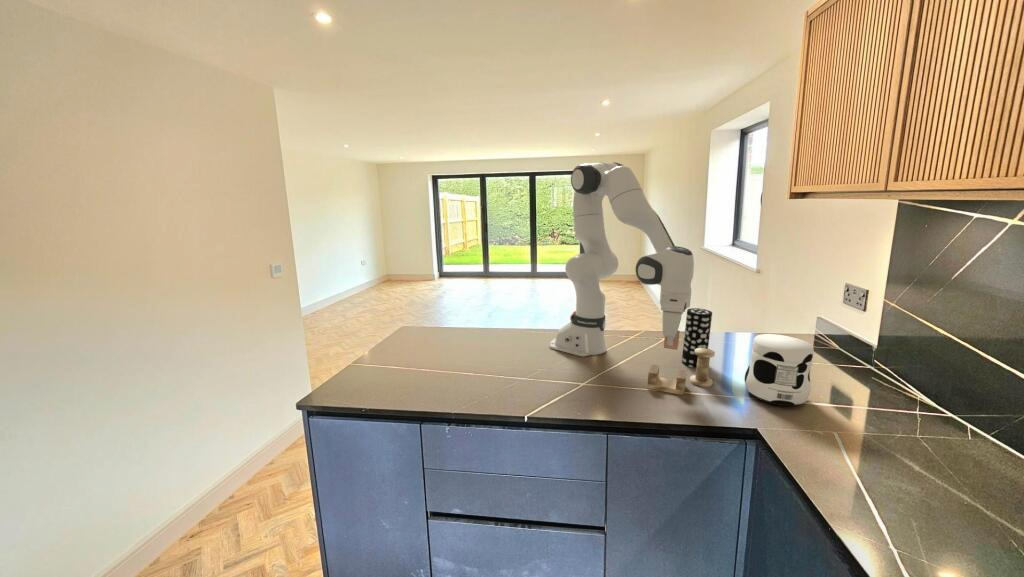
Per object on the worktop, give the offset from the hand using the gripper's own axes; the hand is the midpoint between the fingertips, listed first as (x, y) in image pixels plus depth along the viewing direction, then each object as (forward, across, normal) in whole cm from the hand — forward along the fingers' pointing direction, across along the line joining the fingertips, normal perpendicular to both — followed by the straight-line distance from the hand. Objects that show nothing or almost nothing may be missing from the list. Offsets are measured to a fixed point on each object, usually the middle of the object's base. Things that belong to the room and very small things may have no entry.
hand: (671, 342), depth 135 cm
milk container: (+16, -8, +31) cm, 36 cm away
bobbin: (+15, -9, +10) cm, 20 cm away
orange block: (+2, 0, 0) cm, 2 cm away
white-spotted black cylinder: (+16, -25, +7) cm, 30 cm away
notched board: (+15, 0, 0) cm, 16 cm away
